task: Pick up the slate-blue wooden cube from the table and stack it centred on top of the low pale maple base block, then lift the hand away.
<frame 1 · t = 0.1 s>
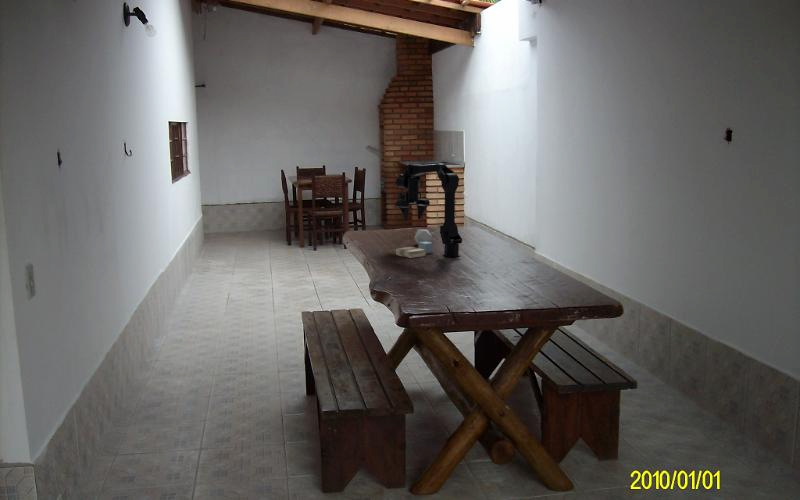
hand: (412, 219, 370), 15 cm above the table, fingers open, 9 cm apart
slate block: (425, 252, 361), on the table
maple base: (410, 255, 352), on the table
die: (422, 245, 384), on the table
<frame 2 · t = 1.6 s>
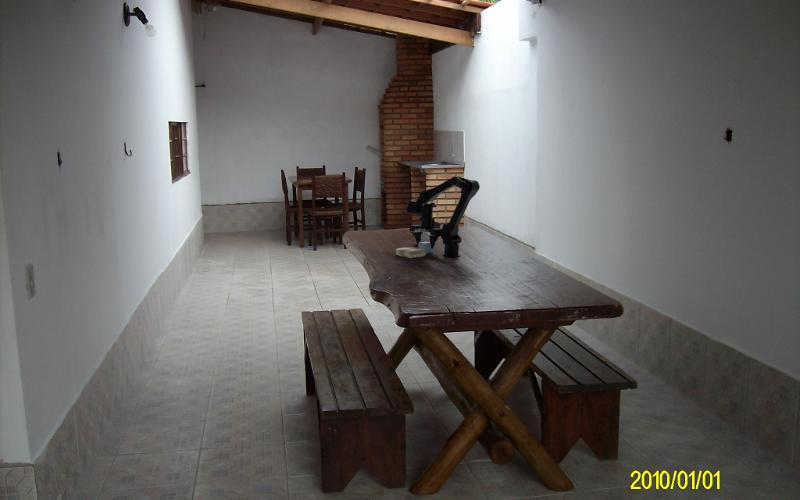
hand: (425, 247, 361), 3 cm above the table, fingers open, 9 cm apart
nothing on the table moved.
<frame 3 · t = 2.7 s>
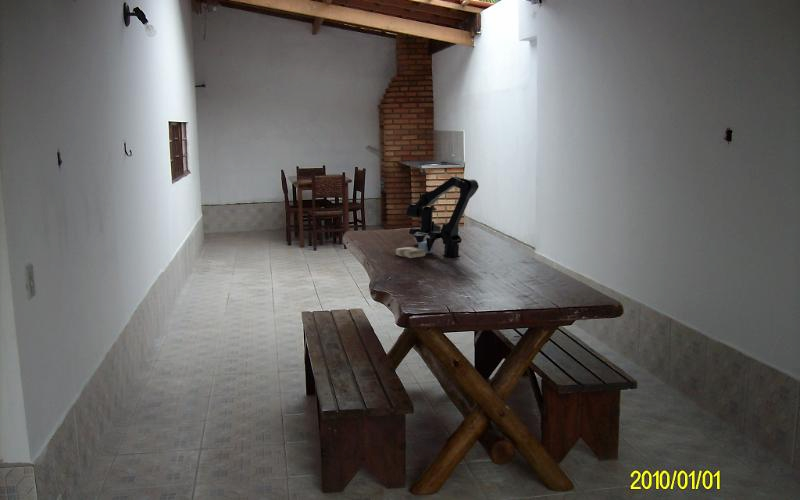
hand: (425, 250, 361), 1 cm above the table, fingers closed on slate block, 5 cm apart
slate block: (425, 252, 361), on the table, touching gripper
everything else where it was.
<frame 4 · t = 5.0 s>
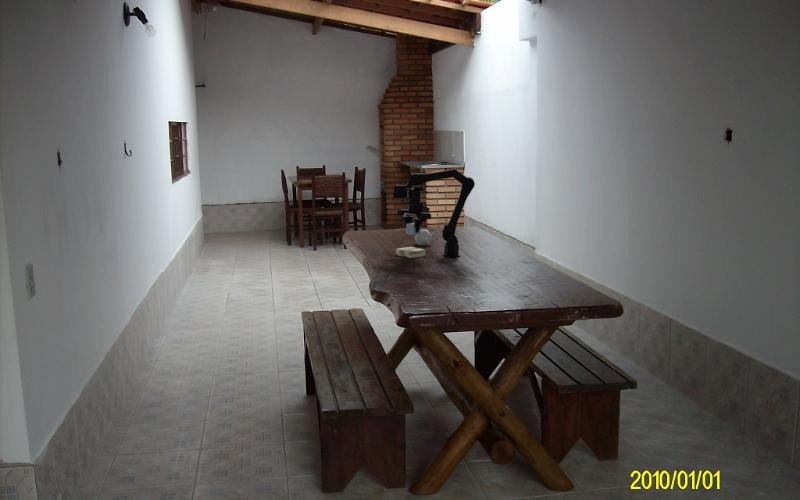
hand: (413, 231, 352), 11 cm above the table, fingers closed on slate block, 5 cm apart
slate block: (413, 234, 352), point 10 cm above the table, touching gripper
everything else where it was.
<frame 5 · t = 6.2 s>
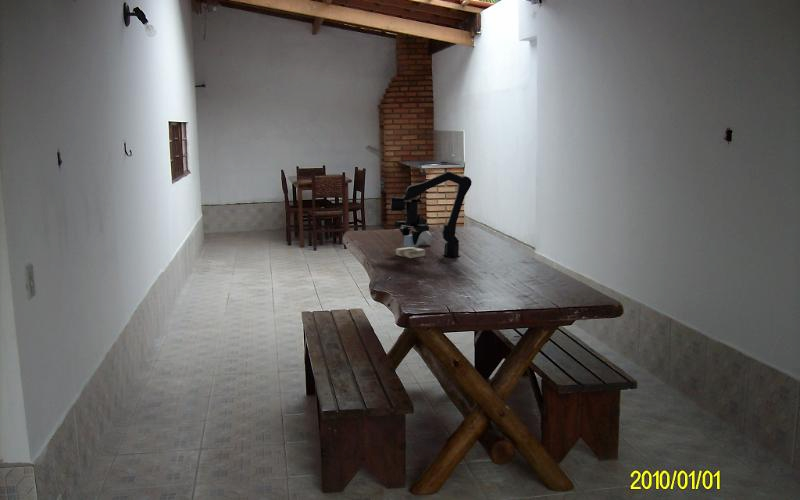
hand: (411, 243, 351), 6 cm above the table, fingers closed on slate block, 5 cm apart
slate block: (411, 246, 351), point 5 cm above the table, touching gripper
everything else where it was.
when the fingers open (5 cm above the table, at t = 7.0 s): slate block drops 1 cm, resting on maple base.
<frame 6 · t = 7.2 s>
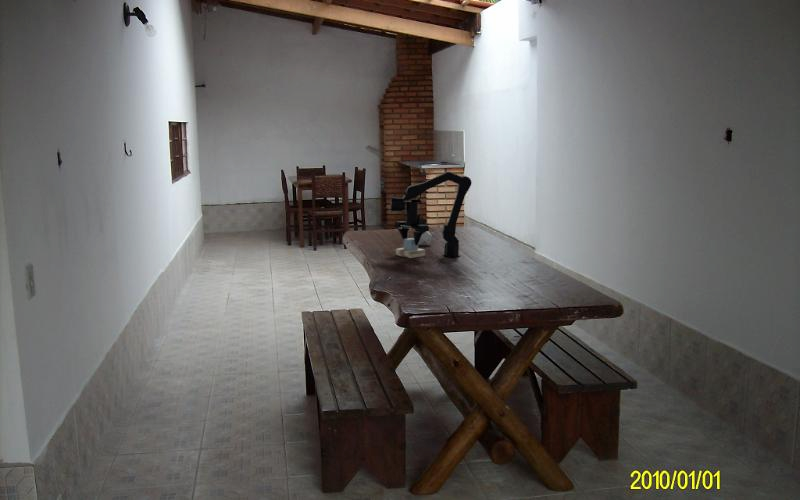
hand: (411, 244, 351), 5 cm above the table, fingers open, 7 cm apart
slate block: (410, 249, 351), point 3 cm above the table, touching maple base
everything else where it was.
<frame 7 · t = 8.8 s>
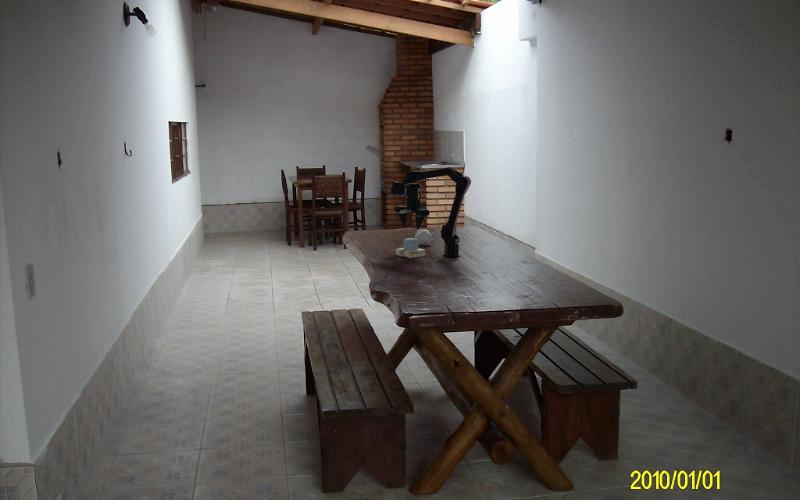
hand: (411, 228, 357), 12 cm above the table, fingers open, 9 cm apart
nothing on the table moved.
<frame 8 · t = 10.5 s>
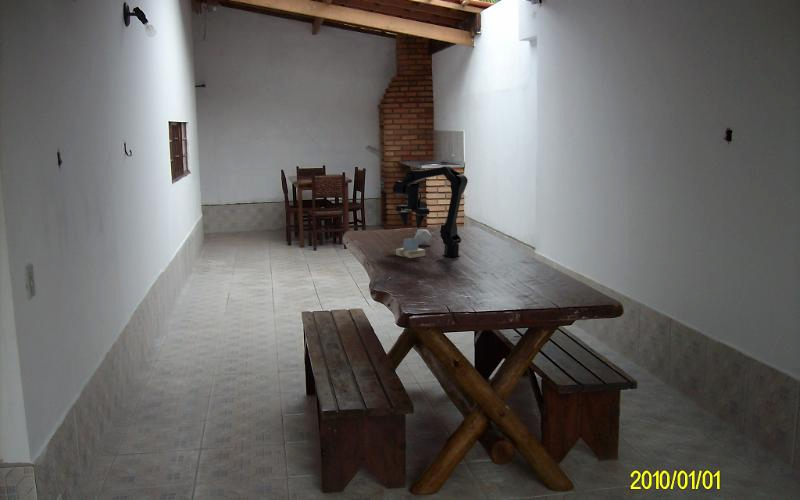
hand: (412, 227, 362), 12 cm above the table, fingers open, 9 cm apart
nothing on the table moved.
at the end: slate block 0.0 cm off-centre on the maple base, point 3.0 cm above the maple base's base; slate block tilted 0°; slate block touching maple base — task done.
